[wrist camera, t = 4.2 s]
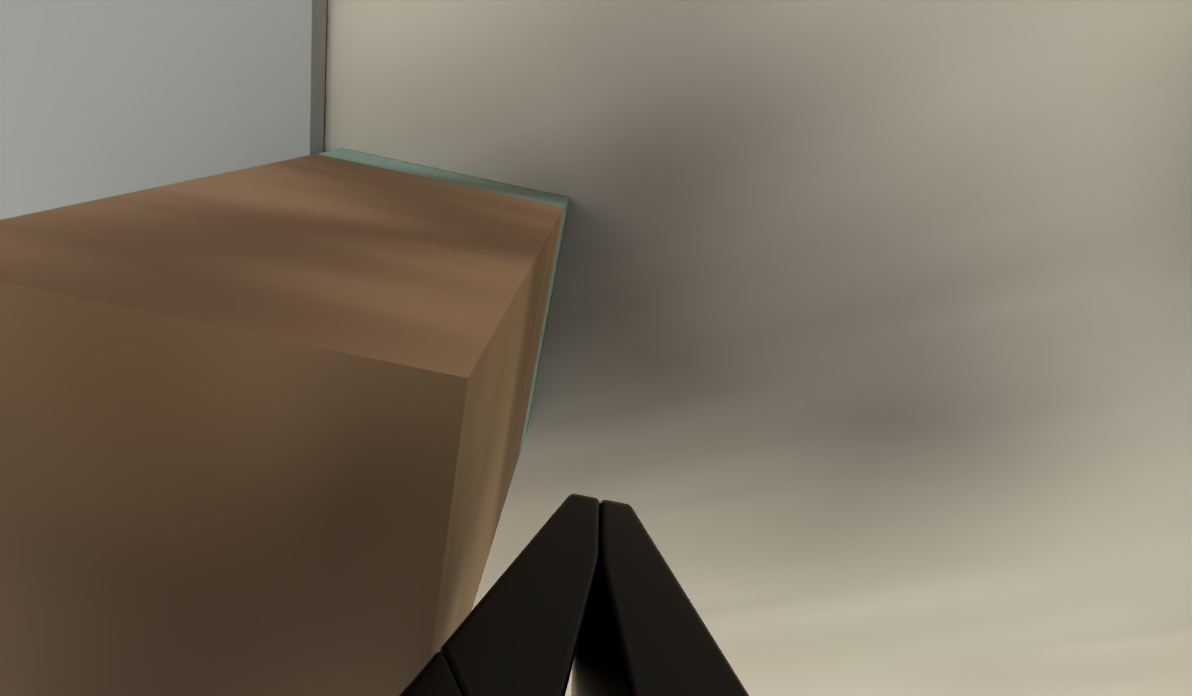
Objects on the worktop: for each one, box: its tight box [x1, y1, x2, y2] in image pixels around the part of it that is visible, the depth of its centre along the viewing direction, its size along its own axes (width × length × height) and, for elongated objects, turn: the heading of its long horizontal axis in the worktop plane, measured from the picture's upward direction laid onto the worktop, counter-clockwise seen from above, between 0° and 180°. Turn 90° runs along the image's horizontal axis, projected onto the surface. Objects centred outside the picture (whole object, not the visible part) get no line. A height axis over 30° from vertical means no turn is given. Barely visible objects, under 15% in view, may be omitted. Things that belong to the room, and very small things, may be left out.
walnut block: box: [0, 148, 570, 696], centre depth 10 cm, size 5×6×9 cm
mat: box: [0, 0, 327, 220], centre depth 14 cm, size 10×14×1 cm
